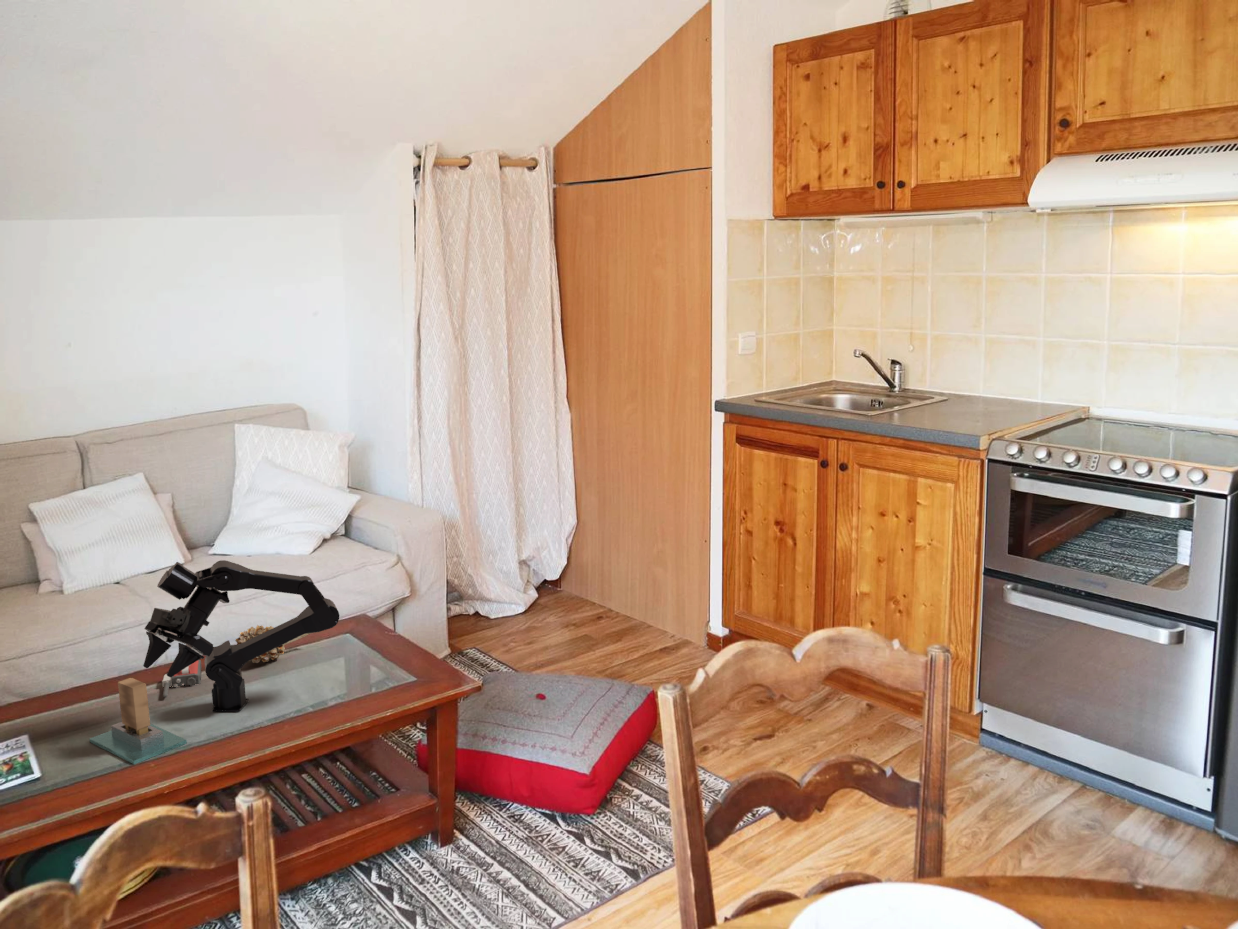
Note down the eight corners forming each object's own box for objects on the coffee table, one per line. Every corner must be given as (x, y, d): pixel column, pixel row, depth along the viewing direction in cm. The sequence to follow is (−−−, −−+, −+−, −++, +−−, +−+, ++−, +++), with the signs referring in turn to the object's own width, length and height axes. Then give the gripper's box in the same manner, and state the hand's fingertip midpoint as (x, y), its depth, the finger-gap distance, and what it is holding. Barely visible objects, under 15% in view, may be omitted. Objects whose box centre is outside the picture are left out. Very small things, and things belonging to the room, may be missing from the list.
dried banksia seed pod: (249, 675, 270) (246, 637, 268) (228, 666, 276) (225, 629, 274) (323, 650, 287) (321, 614, 285) (302, 642, 293) (300, 607, 291)
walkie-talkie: (166, 672, 274) (160, 702, 255) (164, 655, 273) (158, 685, 254) (202, 667, 276) (199, 697, 258) (201, 651, 275) (198, 680, 257)
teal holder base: (89, 742, 234) (88, 728, 233) (141, 722, 243) (140, 709, 242) (134, 764, 223) (132, 749, 222) (186, 743, 232) (185, 729, 232)
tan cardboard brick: (123, 738, 233) (117, 682, 231) (136, 733, 236) (131, 677, 233) (138, 745, 230) (132, 688, 227) (151, 740, 232) (146, 683, 230)
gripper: (148, 585, 243) (106, 646, 237) (196, 600, 233) (153, 664, 226) (183, 609, 251) (143, 669, 244) (231, 625, 240) (190, 687, 234)
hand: (156, 671), depth 237 cm, fingers open, 9 cm apart
